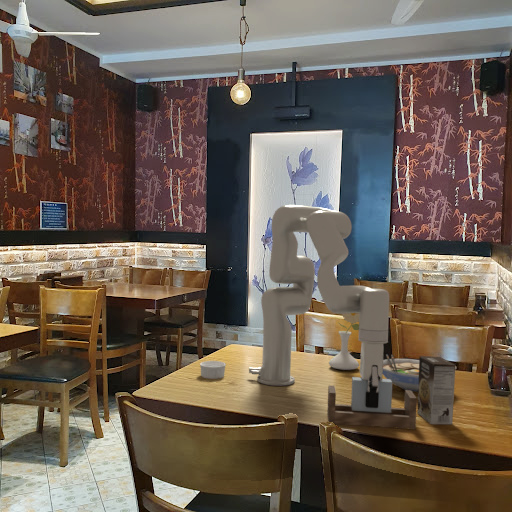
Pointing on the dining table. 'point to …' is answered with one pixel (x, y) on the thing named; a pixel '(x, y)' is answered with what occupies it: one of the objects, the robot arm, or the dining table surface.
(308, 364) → the dining table surface
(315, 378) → the dining table surface
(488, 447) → the dining table surface
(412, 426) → the frame
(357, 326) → the flower in vase
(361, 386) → the light grey rectangular block
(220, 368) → the ramekin
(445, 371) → the coffee box
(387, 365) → the ramen bowl
